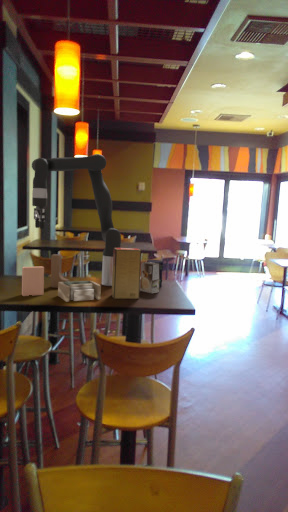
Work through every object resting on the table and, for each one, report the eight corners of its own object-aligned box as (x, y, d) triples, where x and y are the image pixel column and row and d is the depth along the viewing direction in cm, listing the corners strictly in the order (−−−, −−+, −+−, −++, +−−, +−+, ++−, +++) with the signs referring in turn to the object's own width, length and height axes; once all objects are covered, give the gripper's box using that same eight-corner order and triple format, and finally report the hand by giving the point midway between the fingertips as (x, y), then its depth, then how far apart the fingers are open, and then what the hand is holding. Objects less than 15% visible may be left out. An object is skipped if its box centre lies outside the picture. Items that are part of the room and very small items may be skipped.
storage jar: (162, 287, 231) (163, 262, 230) (145, 286, 231) (146, 261, 230) (161, 284, 241) (163, 260, 239) (145, 283, 241) (147, 259, 240)
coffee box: (159, 292, 218) (161, 263, 216) (151, 293, 213) (153, 264, 212) (147, 289, 224) (148, 261, 222) (139, 290, 220) (140, 262, 218)
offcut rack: (90, 293, 206) (91, 280, 205) (100, 299, 194) (101, 285, 194) (57, 295, 197) (58, 281, 197) (66, 301, 186) (66, 287, 185)
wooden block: (68, 287, 219) (69, 255, 217) (66, 288, 215) (67, 256, 212) (53, 285, 220) (54, 254, 218) (50, 287, 216) (51, 254, 214)
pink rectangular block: (41, 293, 200) (42, 266, 199) (43, 294, 198) (44, 267, 196) (21, 294, 196) (22, 266, 194) (23, 296, 193) (23, 267, 191)
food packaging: (135, 294, 209) (138, 248, 206) (139, 299, 200) (142, 250, 197) (110, 294, 206) (113, 247, 203) (113, 299, 197) (115, 249, 194)
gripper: (50, 197, 202) (50, 229, 204) (42, 197, 214) (42, 227, 216) (36, 197, 198) (36, 229, 200) (29, 196, 211) (29, 227, 213)
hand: (39, 228), depth 208 cm, fingers open, 8 cm apart
